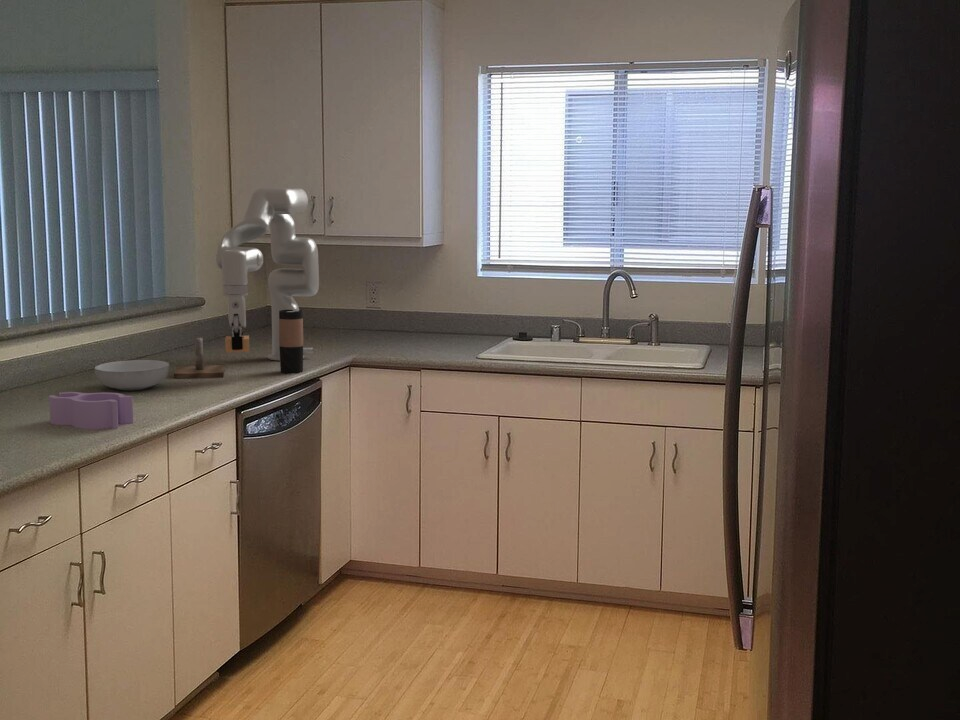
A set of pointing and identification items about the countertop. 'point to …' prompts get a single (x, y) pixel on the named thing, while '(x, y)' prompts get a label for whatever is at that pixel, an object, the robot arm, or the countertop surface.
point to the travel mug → (291, 341)
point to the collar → (229, 344)
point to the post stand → (199, 366)
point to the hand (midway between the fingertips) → (237, 346)
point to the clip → (91, 410)
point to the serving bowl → (132, 374)
